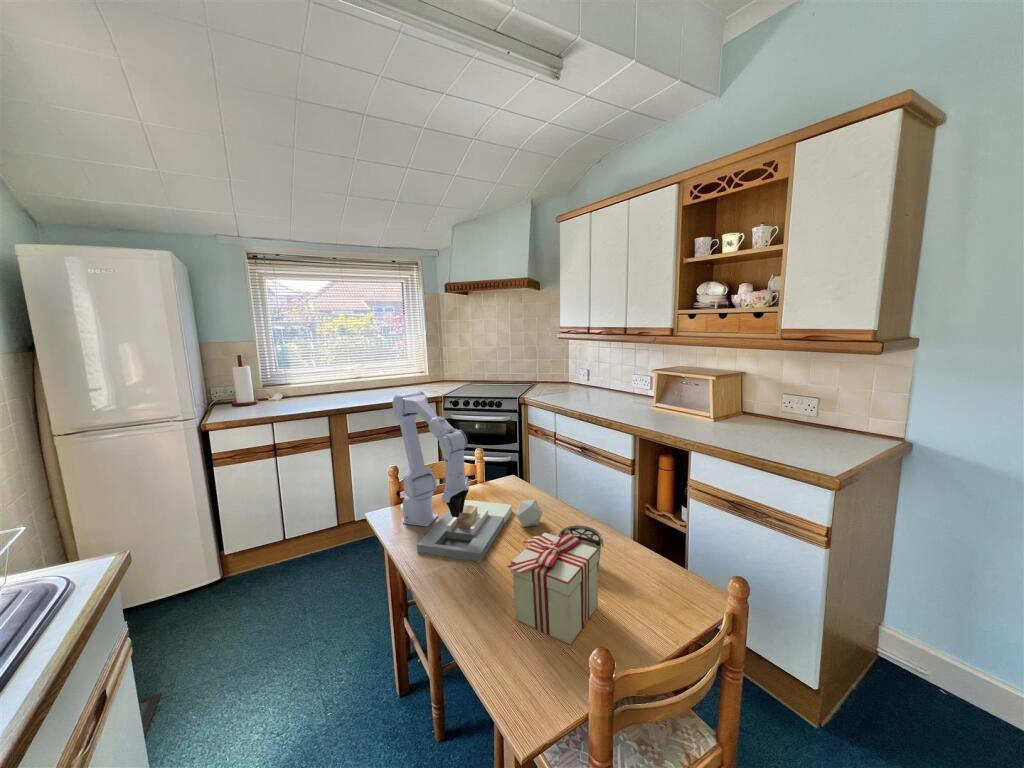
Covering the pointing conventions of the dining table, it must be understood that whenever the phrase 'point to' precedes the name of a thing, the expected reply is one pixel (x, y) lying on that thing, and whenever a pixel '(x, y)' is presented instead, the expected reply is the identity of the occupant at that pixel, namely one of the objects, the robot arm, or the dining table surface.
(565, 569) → the gift box
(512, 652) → the dining table surface
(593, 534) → the dark grey curved piece
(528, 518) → the die
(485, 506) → the trap deck
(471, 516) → the maple block
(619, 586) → the dining table surface
